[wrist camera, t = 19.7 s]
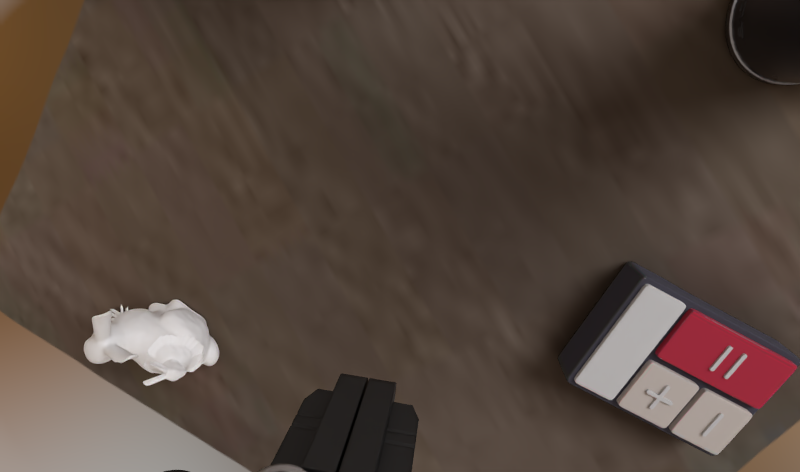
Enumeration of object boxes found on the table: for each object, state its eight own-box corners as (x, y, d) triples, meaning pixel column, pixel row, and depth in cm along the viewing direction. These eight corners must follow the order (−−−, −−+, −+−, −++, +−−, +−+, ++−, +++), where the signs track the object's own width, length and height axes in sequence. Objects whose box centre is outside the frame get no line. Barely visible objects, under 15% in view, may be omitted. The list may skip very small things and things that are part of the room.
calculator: (719, 465, 43) (566, 386, 42) (695, 430, 47) (555, 359, 46) (811, 366, 40) (648, 278, 38) (776, 338, 44) (628, 258, 43)
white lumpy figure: (107, 316, 51) (28, 368, 41) (130, 253, 48) (51, 293, 39) (215, 373, 51) (160, 436, 42) (243, 313, 49) (191, 366, 39)
